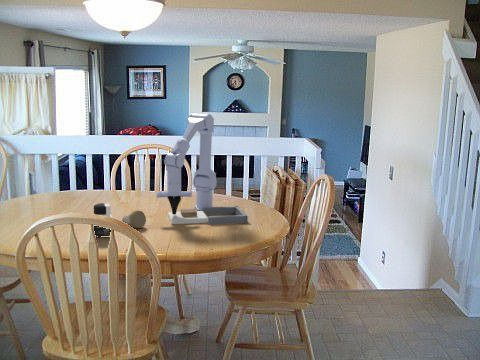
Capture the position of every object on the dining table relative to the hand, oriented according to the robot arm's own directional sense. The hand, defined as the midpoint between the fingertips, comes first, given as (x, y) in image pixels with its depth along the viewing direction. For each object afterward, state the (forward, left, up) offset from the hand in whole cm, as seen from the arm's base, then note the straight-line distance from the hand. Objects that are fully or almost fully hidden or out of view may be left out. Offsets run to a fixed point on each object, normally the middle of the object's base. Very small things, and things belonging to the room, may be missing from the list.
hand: (174, 213), depth 215 cm
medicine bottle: (+17, -29, -3) cm, 34 cm away
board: (0, +6, -3) cm, 6 cm away
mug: (+7, -18, -3) cm, 19 cm away
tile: (0, +6, -1) cm, 6 cm away
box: (0, +21, -3) cm, 21 cm away
